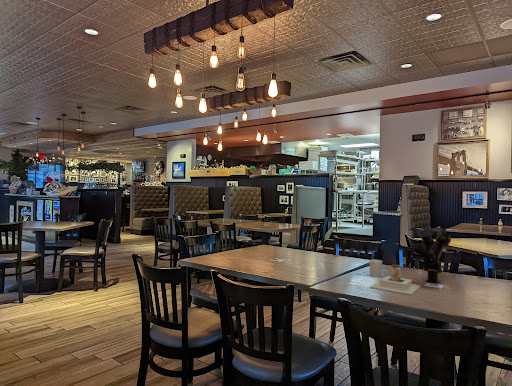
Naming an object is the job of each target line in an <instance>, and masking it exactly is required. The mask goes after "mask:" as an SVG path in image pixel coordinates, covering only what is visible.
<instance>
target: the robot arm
mask: <svg viewBox="0 0 512 386" xmlns="http://www.w3.org/2000/svg"><path fill="white" fill-rule="evenodd" d="M419 236H420V238H421V241H422V242H421V243H418V242H412V244H411V248H412V249H408V248H406V249H405V250H404V254H405V255H406V263H405V266H406V267H407V266H409V265H410V264H411V263H413V262H414V260H415V259H416V258H421V259H423V260H422V262H421V264H420V265H419V266H418V267H419V269H420V270H422V269H423V270H424V272H427V278H426V280H425V282H429V283H433V284H434V283H435V284H438V283H439V282H440V280H439V274H441V273H442V271H443V270H442V266H441V263H440V258H441V256H442V253H443V251H444V249H445V248H446V247H448V246H449V245H450V243H451V241H452V238H451V235H450V233H448V231H447V230H446V228H444V227H443V228H442V227H441V228H440V227H437V228H435V229H429V227H428V228H427V227H424V229H422V230H420V231H419ZM435 241H436V242H435ZM433 247H434V248H433ZM413 249H414V250H413ZM432 249H433V251H431V250H432Z"/></svg>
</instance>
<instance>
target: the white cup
mask: <svg viewBox="0 0 512 386" xmlns="http://www.w3.org/2000/svg"><path fill="white" fill-rule="evenodd" d="M382 270H383V260H380V259H369V277H372V278H380V277H381V276H382Z"/></svg>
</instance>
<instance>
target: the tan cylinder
mask: <svg viewBox="0 0 512 386" xmlns="http://www.w3.org/2000/svg"><path fill="white" fill-rule="evenodd" d="M401 267H402V266H401V265H400V264H391V277H392V281H395V282H400V278H401Z"/></svg>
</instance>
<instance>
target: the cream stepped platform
mask: <svg viewBox="0 0 512 386" xmlns="http://www.w3.org/2000/svg"><path fill="white" fill-rule="evenodd" d="M412 282H413V279H409V278H402V277H400V282H395V281H392V275H391V276H390V275H386V276H385V277H383V278H381V279H379V281H377V282H376V283H374V284H372V285H371V286H369V289H375V290H379V291H385V292H390V293H397V294H402V295H407V296H412V295H414V294H415V293H416V292H417V291H418V290H419V289H420V288H421V287H422V285H420V284H414V283H412Z"/></svg>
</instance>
